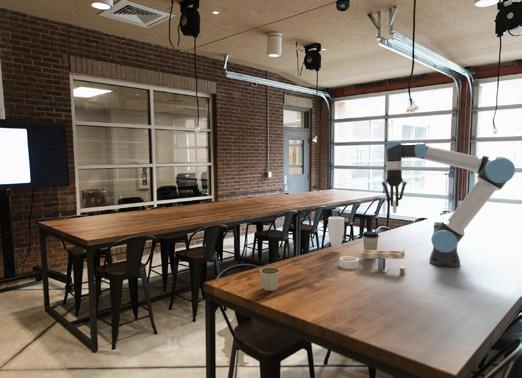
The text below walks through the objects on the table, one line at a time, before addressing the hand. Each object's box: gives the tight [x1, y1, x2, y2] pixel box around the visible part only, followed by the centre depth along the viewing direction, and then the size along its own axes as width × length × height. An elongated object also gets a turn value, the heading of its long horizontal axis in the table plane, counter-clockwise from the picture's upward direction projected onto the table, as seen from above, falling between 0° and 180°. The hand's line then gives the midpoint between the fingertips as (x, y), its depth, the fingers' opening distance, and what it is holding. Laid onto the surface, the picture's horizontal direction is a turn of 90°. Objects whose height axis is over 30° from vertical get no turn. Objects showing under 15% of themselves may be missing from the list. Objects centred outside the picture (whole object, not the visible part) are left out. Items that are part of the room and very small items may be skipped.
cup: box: [327, 216, 345, 249], centre depth 227 cm, size 10×10×22 cm
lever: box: [358, 249, 405, 260], centre depth 193 cm, size 22×13×3 cm, turn 62°
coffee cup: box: [361, 231, 380, 260], centre depth 213 cm, size 9×9×15 cm
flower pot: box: [259, 266, 281, 292], centre depth 166 cm, size 9×9×9 cm
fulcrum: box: [373, 258, 406, 276], centre depth 188 cm, size 14×11×7 cm
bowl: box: [338, 255, 360, 270], centre depth 198 cm, size 10×10×4 cm
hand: (394, 212), depth 198 cm, fingers closed
